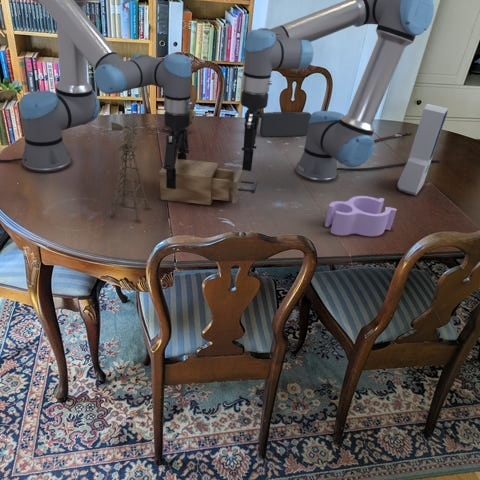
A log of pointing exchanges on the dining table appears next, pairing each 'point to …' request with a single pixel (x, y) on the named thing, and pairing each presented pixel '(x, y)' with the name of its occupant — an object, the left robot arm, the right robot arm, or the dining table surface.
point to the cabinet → (189, 182)
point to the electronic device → (422, 149)
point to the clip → (359, 216)
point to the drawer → (229, 185)
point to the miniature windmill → (125, 147)
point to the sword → (390, 137)
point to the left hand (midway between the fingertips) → (176, 179)
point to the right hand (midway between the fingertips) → (246, 169)
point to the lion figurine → (192, 119)
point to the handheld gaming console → (284, 123)
